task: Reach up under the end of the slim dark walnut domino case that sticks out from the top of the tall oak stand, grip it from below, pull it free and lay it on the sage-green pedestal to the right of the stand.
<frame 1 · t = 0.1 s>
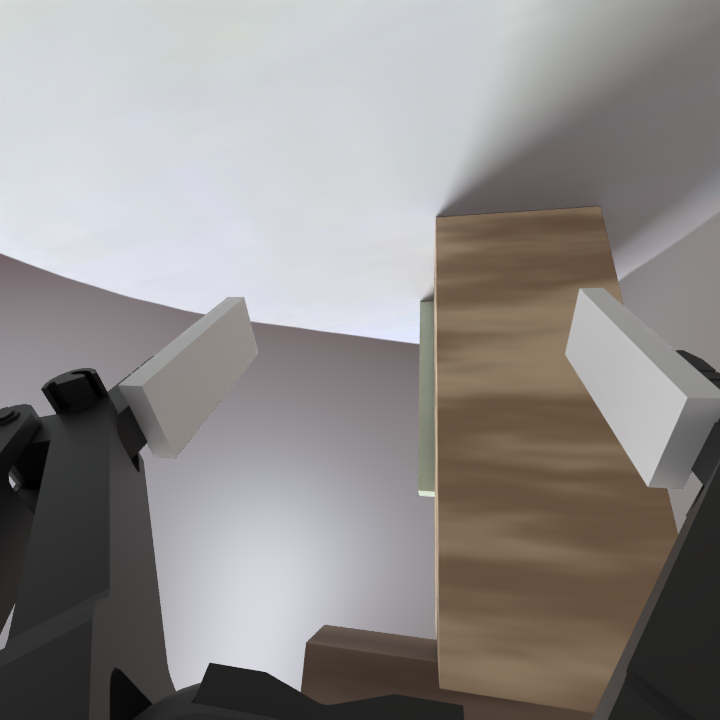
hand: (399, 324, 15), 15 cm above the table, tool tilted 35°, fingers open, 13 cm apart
green pedestal: (459, 316, 44), on the table
domino case: (486, 657, 23), point 30 cm above the table, touching oak stand
oak stand: (501, 261, 34), on the table
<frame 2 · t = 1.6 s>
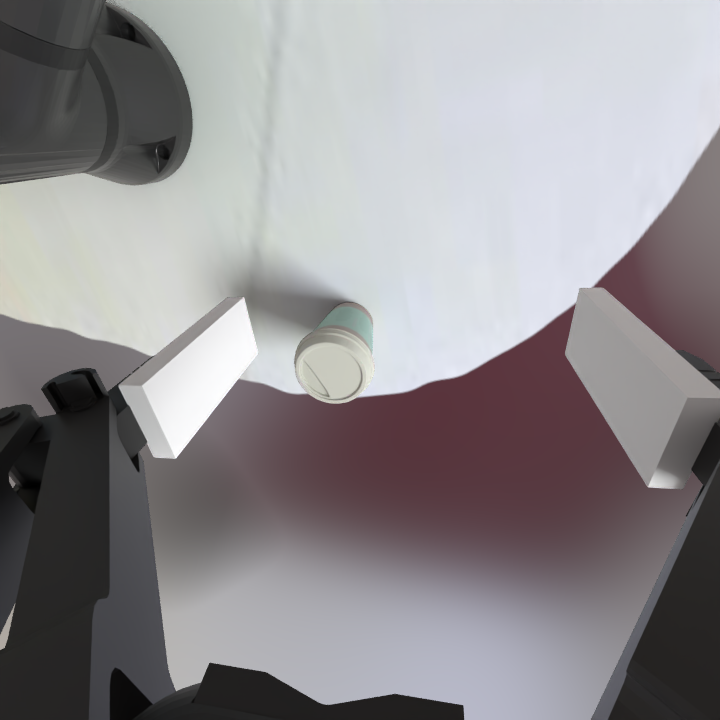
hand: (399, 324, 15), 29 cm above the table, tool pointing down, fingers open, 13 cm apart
coffee cup: (350, 322, 48), on the table
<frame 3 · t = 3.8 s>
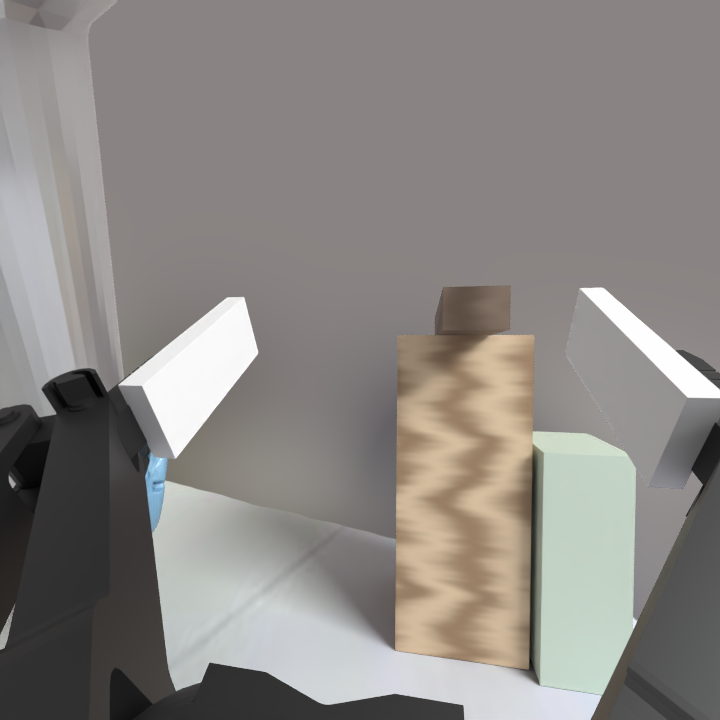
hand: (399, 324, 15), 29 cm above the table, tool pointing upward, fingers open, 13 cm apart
green pedestal: (564, 650, 35), on the table
domino case: (460, 336, 37), point 30 cm above the table, touching oak stand
oak stand: (454, 614, 40), on the table
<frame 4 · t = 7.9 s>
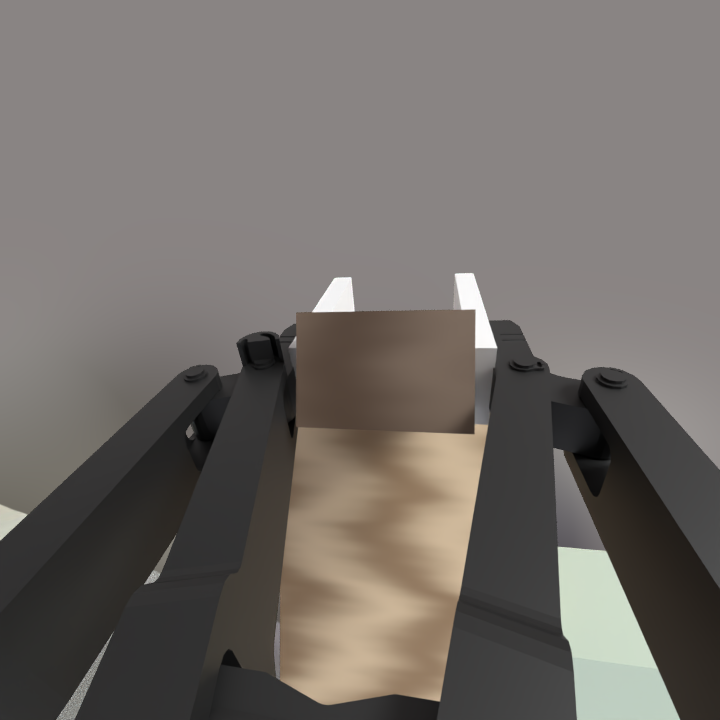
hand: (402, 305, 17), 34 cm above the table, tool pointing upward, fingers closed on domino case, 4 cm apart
domino case: (406, 390, 20), point 30 cm above the table, touching gripper, oak stand
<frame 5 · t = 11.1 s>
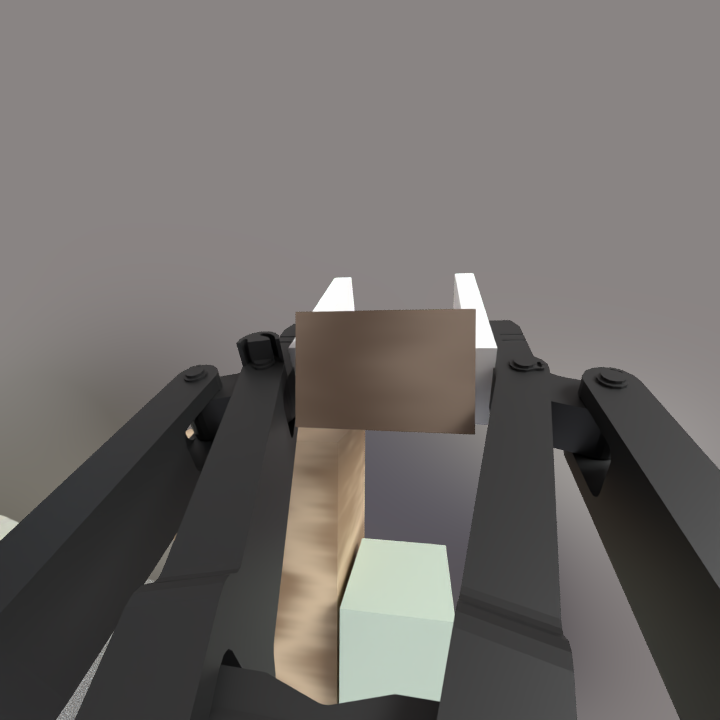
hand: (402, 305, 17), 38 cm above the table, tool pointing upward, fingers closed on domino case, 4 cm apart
domino case: (406, 389, 20), point 34 cm above the table, touching gripper
when the fingers open (25 cm above the table, at t = 14.3 s): domino case stays where it is, resting on green pedestal.
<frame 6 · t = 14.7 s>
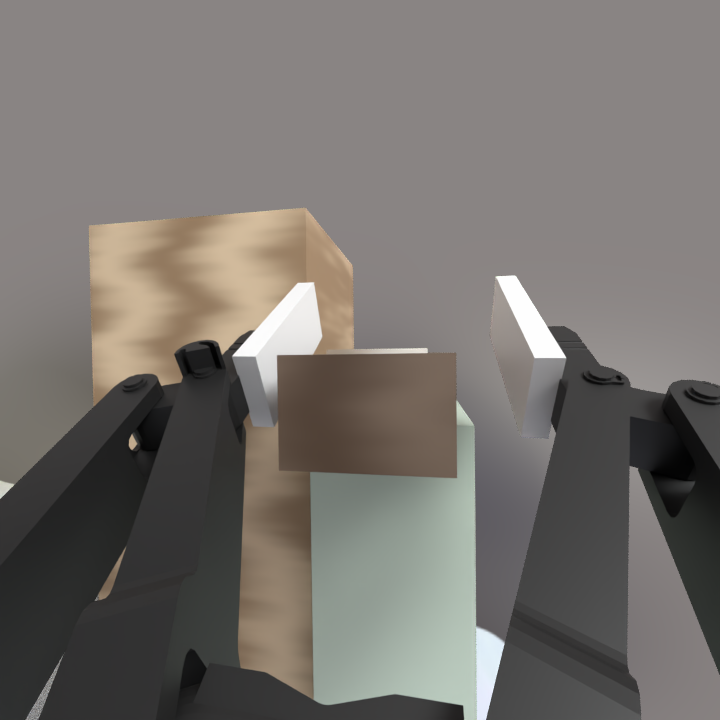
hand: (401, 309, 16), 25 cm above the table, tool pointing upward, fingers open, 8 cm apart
domino case: (396, 408, 20), point 20 cm above the table, touching green pedestal
oak stand: (255, 693, 25), on the table
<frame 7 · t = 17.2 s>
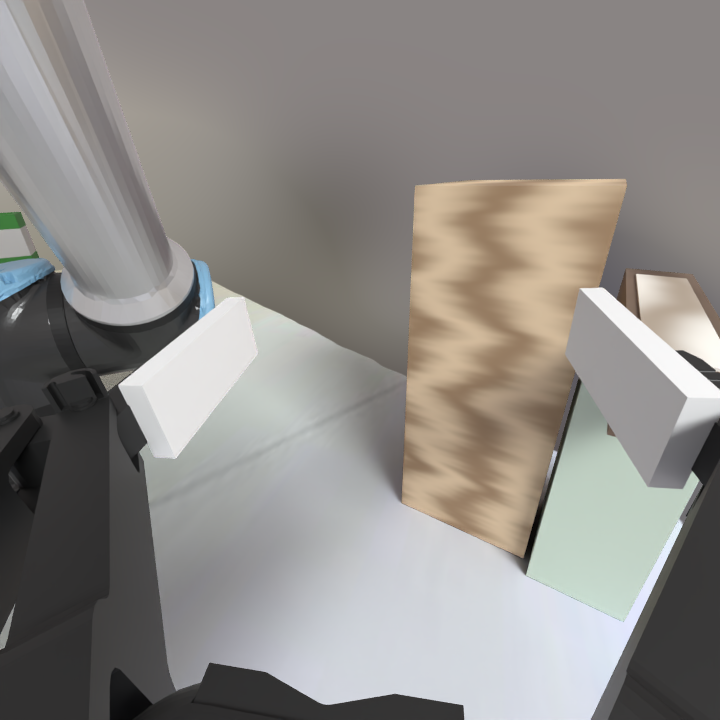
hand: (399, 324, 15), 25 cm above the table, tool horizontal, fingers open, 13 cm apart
green pedestal: (577, 553, 33), on the table
hardback book: (15, 319, 93), on the table
domino case: (653, 353, 24), point 20 cm above the table, touching green pedestal
oak stand: (476, 487, 40), on the table
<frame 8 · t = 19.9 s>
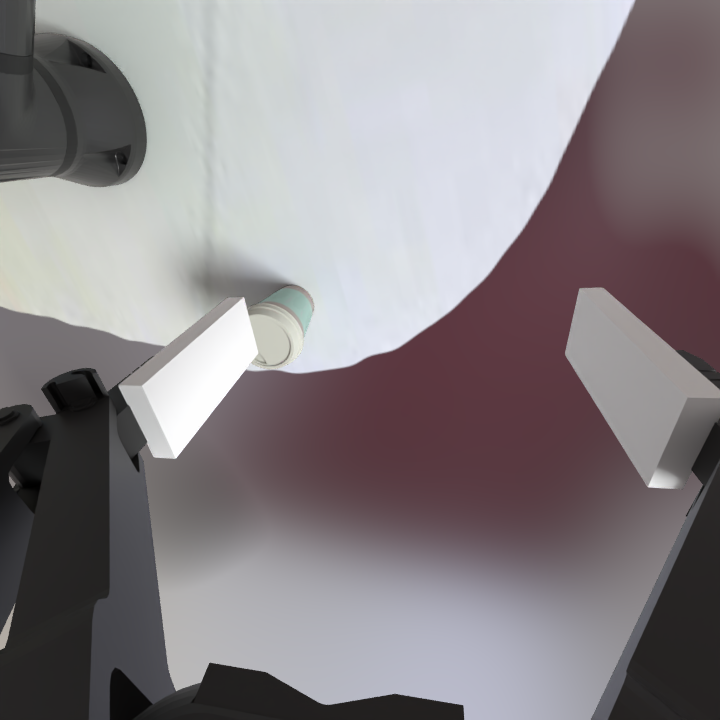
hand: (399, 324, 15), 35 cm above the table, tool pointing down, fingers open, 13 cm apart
coffee cup: (295, 303, 54), on the table
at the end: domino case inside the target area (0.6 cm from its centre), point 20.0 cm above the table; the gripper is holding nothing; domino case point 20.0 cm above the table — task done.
